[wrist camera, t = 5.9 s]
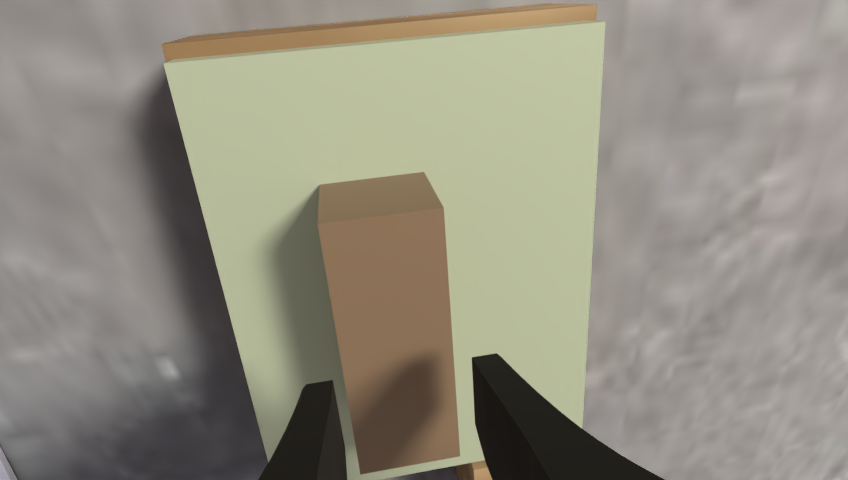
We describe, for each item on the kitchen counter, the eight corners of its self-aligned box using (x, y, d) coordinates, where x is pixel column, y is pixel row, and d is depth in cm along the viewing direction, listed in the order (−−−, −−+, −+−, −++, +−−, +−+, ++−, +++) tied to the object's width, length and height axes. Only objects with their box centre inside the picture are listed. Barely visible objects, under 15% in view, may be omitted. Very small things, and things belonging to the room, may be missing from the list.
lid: (571, 424, 22) (618, 507, 19) (280, 476, 21) (269, 577, 17) (589, 20, 16) (666, 27, 12) (173, 59, 15) (122, 80, 11)
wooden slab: (543, 456, 28) (580, 536, 23) (302, 502, 26) (297, 594, 22) (551, 3, 19) (613, 5, 15) (191, 36, 17) (150, 47, 13)
